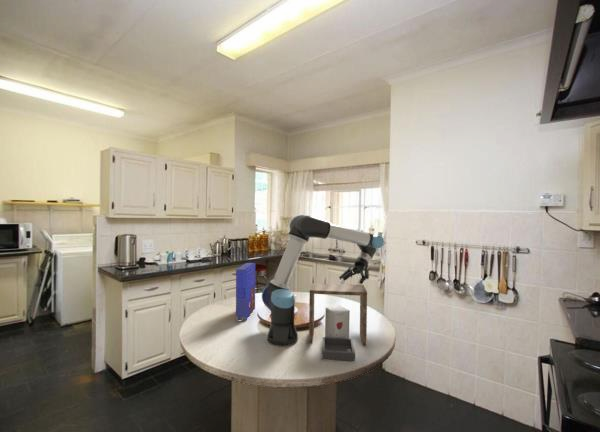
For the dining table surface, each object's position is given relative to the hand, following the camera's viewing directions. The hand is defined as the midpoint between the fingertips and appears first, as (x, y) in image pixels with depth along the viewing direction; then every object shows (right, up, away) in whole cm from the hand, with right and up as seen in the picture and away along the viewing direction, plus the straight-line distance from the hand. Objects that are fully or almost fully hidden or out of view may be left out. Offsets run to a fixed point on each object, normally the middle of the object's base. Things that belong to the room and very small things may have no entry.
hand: (347, 287), depth 156 cm
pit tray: (-9, -22, -29) cm, 37 cm away
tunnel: (-8, -22, -14) cm, 27 cm away
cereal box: (-60, -21, +18) cm, 66 cm away
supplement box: (-8, -22, -14) cm, 27 cm away
